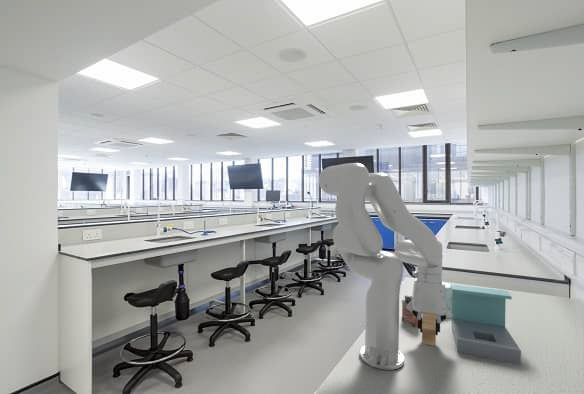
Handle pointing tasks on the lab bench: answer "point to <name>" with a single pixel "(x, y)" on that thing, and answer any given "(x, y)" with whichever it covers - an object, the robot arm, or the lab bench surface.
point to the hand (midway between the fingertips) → (428, 331)
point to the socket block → (482, 323)
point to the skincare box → (448, 295)
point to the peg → (429, 329)
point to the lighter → (408, 313)
